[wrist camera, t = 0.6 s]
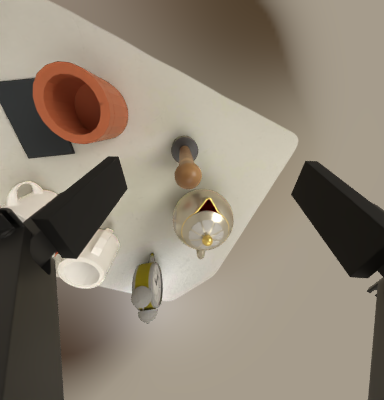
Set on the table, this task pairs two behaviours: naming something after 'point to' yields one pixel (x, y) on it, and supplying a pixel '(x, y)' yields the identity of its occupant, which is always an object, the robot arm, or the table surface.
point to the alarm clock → (147, 289)
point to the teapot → (202, 220)
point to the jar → (78, 104)
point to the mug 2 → (91, 261)
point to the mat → (30, 121)
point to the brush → (186, 162)
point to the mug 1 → (28, 200)
